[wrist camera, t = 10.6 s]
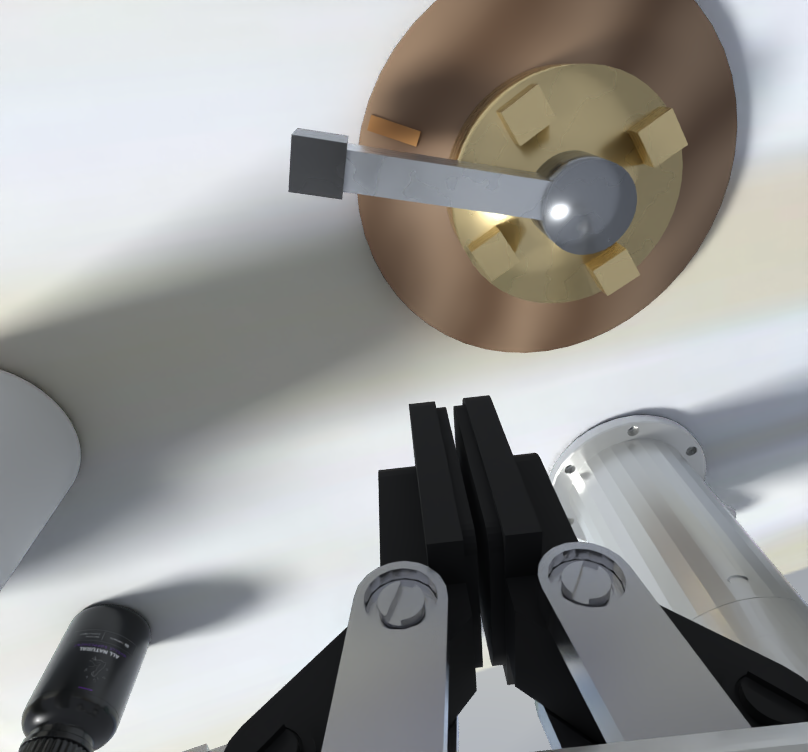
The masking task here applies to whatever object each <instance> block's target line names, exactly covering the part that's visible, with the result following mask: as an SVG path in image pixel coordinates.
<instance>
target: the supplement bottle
mask: <svg viewBox="0 0 808 752" xmlns="http://www.w3.org/2000/svg"><path fill="white" fill-rule="evenodd" d="M150 639H151V631H150V628H149V626H148V624H147V622H146V621H145V620H144V619H143V617H141V616H140V615H139V614H138V613H136V612H134V611H132V610H130V609H128V608H125V607H121V606H117V605H97V606H93V607H90V608H87V609H85V610H83V611H81V612H80V613H79V614H78V615H76V616H75V618H74V619H73V620H72V622H71V623H70V625H69V627H68V629H67V631H66V632H65V634H64V636H63V638H62V640H61V642H60V643H59V645H58V647H57V649H56V651H55V653H54V655H53V657H52V658H51V660H50V662H49V664H48V666H47V668H46V670H45V671H44V673H43V675H42V677H41V679H40V681H39V683H38V685H37V686H36V688H35V690H34V692H33V694H32V696H31V698H30V700H29V701H28V703H27V705H26V707H25V710H24V712H23V715H22V729H23V732H24V735H25V736H26V738H25V739H24V740H23V742H22V744H21V746H20V748H19V752H94V751H95V750H97V749H99V748H101V747H102V746H104V745H105V744H106V743H107V742H108V741H109V740H110V739H111V738H112V737H113V735H114V734H115V732H116V730H117V728H118V725H119V723H120V720H121V718H122V715H123V712H124V710H125V707H126V704H127V702H128V699H129V696H130V694H131V691H132V688H133V686H134V683H135V681H136V678H137V675H138V673H139V670H140V667H141V665H142V662H143V659H144V657H145V654H146V651H147V648H148V646H149V643H150Z"/></svg>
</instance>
